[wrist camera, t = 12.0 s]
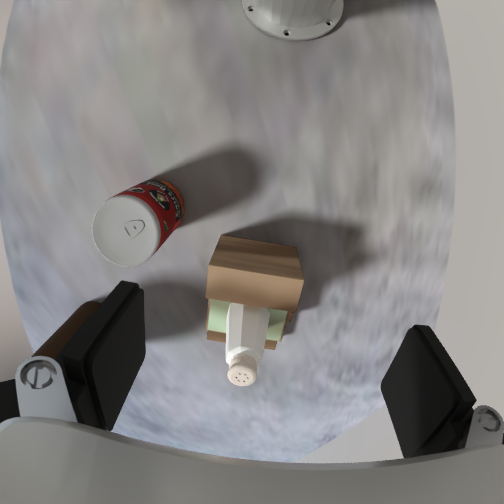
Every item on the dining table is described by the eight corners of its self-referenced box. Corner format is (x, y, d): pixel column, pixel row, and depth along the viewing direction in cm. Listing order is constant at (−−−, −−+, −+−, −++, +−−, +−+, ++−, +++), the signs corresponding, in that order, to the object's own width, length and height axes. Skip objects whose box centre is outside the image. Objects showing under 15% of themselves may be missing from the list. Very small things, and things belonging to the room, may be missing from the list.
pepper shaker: (242, 287, 36) (233, 347, 26) (279, 310, 37) (282, 373, 27) (217, 318, 38) (203, 380, 28) (253, 339, 39) (249, 403, 29)
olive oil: (86, 347, 50) (23, 446, 27) (67, 298, 46) (-19, 394, 23) (135, 350, 49) (78, 467, 26) (117, 297, 45) (33, 413, 22)
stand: (221, 234, 41) (208, 264, 32) (300, 248, 41) (309, 281, 32) (209, 327, 46) (198, 369, 38) (278, 338, 47) (280, 381, 38)
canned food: (197, 208, 40) (174, 236, 29) (156, 245, 42) (125, 281, 32) (158, 165, 38) (122, 178, 27) (120, 205, 40) (79, 230, 30)
